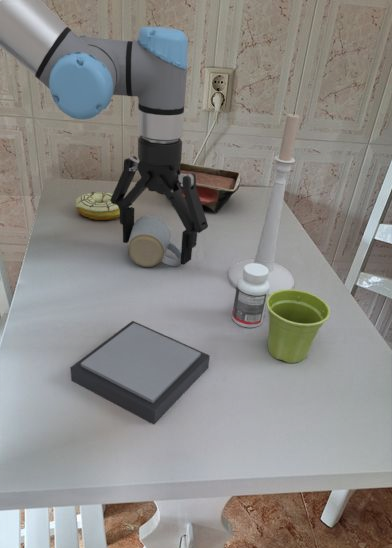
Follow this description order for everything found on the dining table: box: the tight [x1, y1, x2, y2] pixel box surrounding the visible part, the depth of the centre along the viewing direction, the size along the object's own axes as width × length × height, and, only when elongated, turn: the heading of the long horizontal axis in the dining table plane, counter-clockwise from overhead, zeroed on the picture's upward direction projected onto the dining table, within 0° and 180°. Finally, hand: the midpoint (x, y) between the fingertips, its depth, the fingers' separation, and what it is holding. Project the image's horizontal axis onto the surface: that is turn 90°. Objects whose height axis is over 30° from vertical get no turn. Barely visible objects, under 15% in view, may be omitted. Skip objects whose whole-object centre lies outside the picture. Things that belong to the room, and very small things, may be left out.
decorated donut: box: [75, 191, 120, 221], centre depth 110 cm, size 10×11×4 cm
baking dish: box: [172, 162, 242, 214], centre depth 120 cm, size 14×18×10 cm
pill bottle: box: [231, 263, 270, 329], centre depth 80 cm, size 5×5×10 cm
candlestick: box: [227, 112, 301, 296], centre depth 85 cm, size 13×13×30 cm
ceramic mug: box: [127, 215, 181, 268], centre depth 94 cm, size 11×8×8 cm
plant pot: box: [266, 288, 331, 364], centre depth 75 cm, size 9×9×9 cm
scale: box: [69, 320, 211, 425], centre depth 69 cm, size 14×14×3 cm
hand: (156, 251), depth 96 cm, fingers open, 13 cm apart
